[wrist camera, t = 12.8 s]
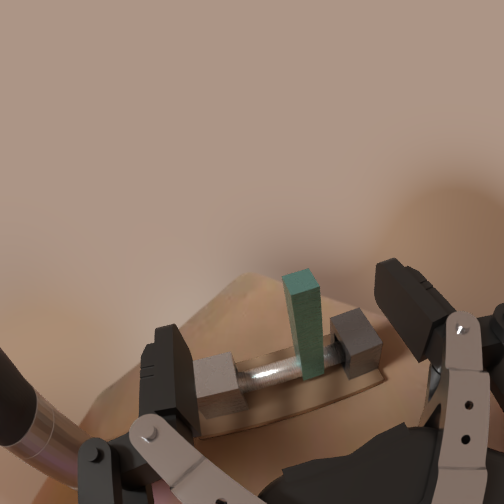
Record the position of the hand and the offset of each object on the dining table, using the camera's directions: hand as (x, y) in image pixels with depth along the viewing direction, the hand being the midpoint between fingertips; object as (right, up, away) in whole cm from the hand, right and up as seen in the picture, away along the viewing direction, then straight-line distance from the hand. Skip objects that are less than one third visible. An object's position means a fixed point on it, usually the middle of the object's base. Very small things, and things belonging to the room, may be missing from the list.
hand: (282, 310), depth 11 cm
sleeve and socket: (+4, -15, +29) cm, 33 cm away
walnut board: (+4, -16, +29) cm, 34 cm away
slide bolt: (+5, -14, +28) cm, 32 cm away
